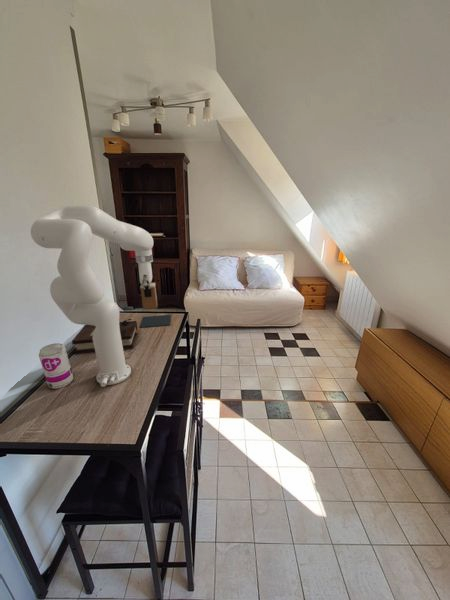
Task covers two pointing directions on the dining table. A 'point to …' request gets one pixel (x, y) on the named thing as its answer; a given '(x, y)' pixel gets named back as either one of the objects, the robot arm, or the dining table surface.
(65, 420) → the dining table surface
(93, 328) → the decorative book
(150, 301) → the cardboard box
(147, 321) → the slate mat
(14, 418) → the dining table surface
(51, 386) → the supplement can
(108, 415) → the dining table surface
